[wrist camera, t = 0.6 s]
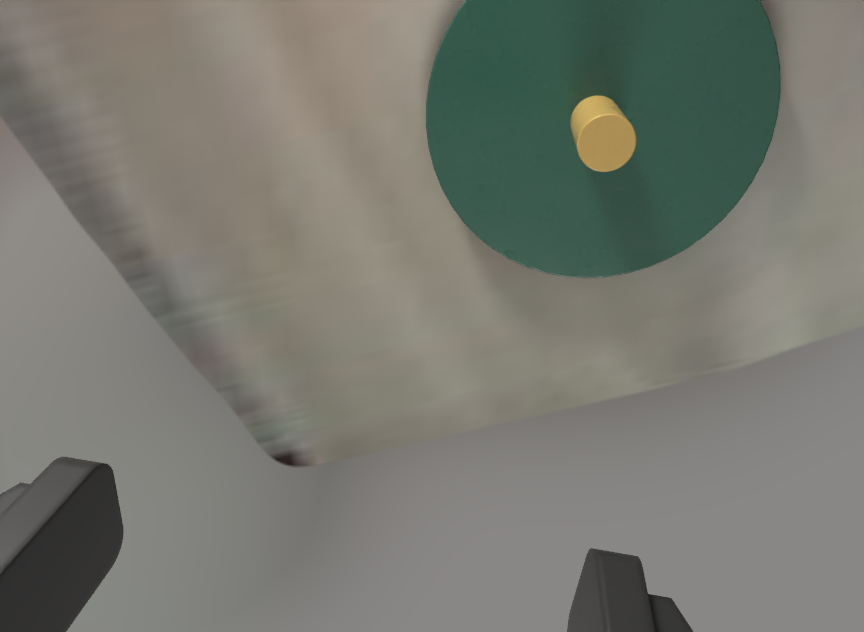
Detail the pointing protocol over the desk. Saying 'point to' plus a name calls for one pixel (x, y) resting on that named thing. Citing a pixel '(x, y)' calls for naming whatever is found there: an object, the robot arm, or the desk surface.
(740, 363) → the desk surface
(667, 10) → the lid
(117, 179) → the desk surface
